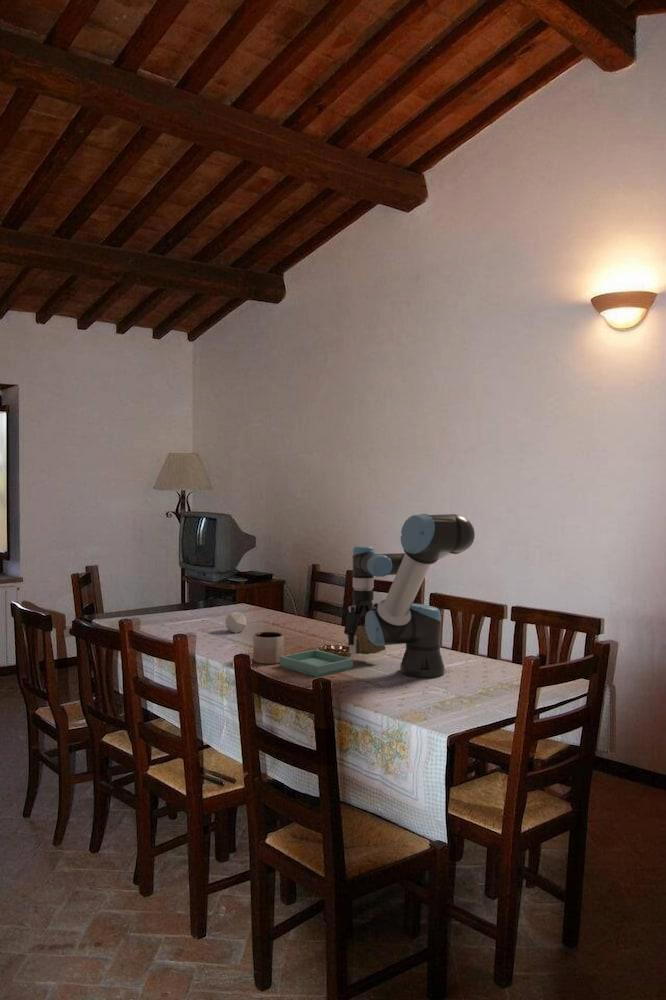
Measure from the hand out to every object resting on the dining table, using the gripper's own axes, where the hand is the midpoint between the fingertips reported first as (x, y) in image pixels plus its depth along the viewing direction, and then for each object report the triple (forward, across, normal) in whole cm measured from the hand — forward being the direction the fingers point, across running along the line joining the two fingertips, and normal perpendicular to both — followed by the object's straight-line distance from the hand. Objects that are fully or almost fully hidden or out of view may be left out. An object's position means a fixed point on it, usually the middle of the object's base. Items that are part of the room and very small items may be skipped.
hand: (362, 651), depth 299 cm
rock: (+1, -1, 0) cm, 2 cm away
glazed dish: (+4, +18, -5) cm, 19 cm away
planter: (+4, +25, -23) cm, 34 cm away
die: (+2, +2, -70) cm, 70 cm away
